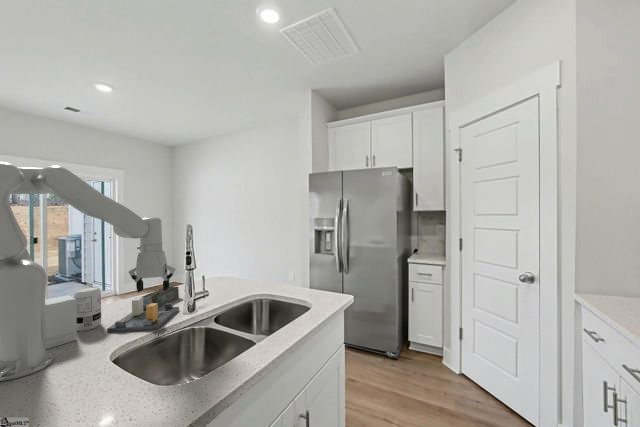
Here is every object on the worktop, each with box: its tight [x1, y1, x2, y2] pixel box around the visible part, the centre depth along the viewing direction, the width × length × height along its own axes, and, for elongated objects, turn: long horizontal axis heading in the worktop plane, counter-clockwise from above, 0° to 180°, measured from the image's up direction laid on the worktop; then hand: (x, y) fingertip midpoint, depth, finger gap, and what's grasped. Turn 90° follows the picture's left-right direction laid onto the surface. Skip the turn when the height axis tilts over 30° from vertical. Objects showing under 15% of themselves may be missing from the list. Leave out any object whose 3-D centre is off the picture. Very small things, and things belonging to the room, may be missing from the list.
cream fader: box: [131, 296, 143, 316], centre depth 117 cm, size 4×2×7 cm, turn 7°
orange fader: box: [146, 303, 158, 322], centre depth 109 cm, size 4×2×7 cm, turn 7°
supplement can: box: [73, 286, 102, 332], centre depth 108 cm, size 8×8×15 cm
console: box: [106, 302, 180, 333], centre depth 115 cm, size 21×18×4 cm
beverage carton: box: [141, 286, 180, 308], centre depth 136 cm, size 8×19×7 cm, turn 171°
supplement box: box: [45, 294, 78, 350], centre depth 96 cm, size 9×9×15 cm
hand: (153, 290), depth 110 cm, fingers open, 9 cm apart
